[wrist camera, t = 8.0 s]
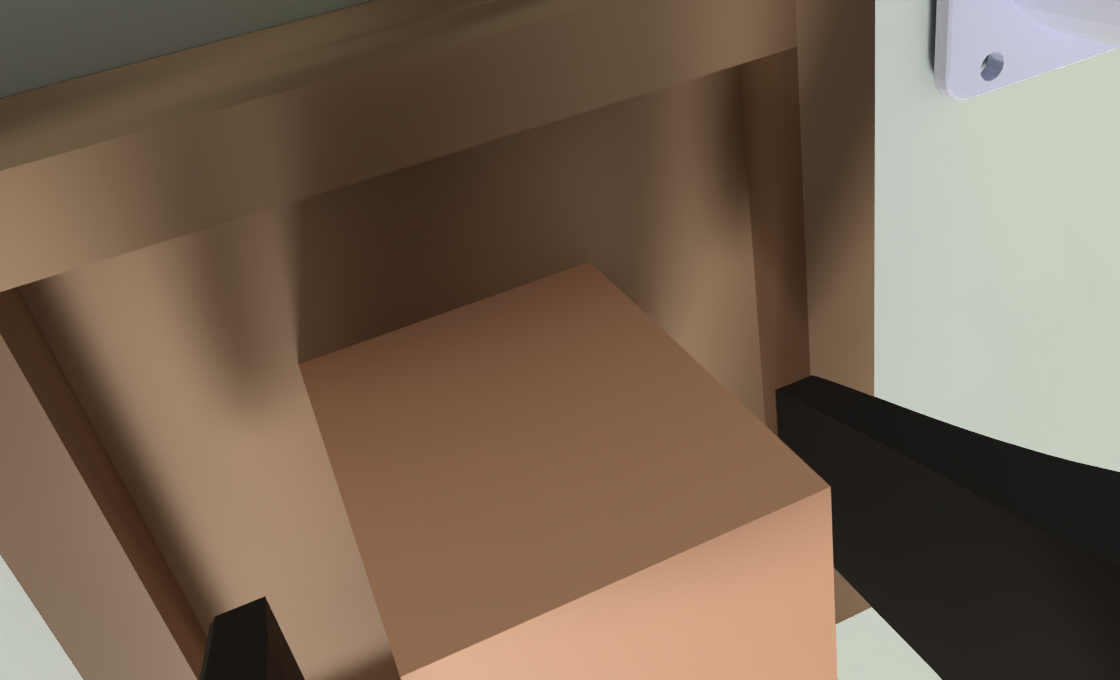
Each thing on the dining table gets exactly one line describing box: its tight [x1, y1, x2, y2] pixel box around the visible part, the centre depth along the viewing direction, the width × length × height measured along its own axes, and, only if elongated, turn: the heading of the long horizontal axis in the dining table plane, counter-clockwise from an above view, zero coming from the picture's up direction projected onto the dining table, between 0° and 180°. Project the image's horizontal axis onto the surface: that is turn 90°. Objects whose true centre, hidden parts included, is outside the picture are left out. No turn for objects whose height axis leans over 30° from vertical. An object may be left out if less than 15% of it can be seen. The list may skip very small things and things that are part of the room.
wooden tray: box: [0, 0, 875, 680], centre depth 15 cm, size 12×12×4 cm
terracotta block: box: [299, 262, 837, 680], centre depth 13 cm, size 4×4×6 cm
